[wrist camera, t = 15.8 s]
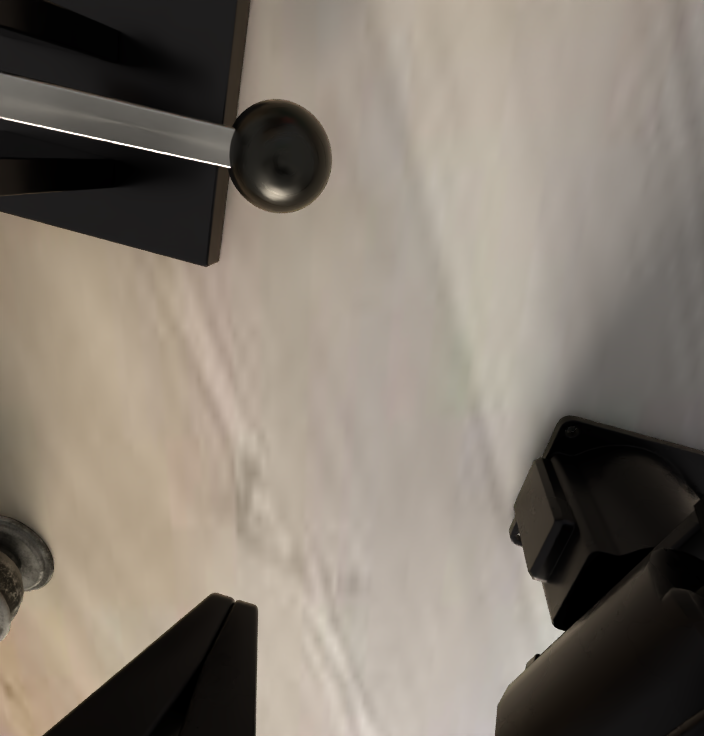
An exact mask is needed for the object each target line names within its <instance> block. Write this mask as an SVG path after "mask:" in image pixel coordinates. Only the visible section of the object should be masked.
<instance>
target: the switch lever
mask: <svg viewBox="0 0 704 736" xmlns="http://www.w3.org/2000/svg"><path fill="white" fill-rule="evenodd" d="M0 119H2V120H7V121H12V122H16V123H21V124H26V125H30V126H35V127H40V128H44V129H49V130H53V131H58V132H63V133H67V134H72V135H77V136H81V137H86V138H91V139H95V140H100V141H104V142H109V143H114V144H118V145H123V146H128V147H132V148H137V149H142V150H146V151H151V152H155V153H160V154H165V155H169V156H174V157H179V158H183V159H188V160H193V161H197V162H202V163H207V164H211V165H216V166H220V167H225V168H227V169H228V172H229V175H230V177H231V180H232V182H233V184H234V185H235V187H236V188H237V190H238V191H239V192H240V194H241V195H242V196H243V197H244V198H245V199H246V200H247V201H249V202H250V203H251V204H253V205H254V206H256V207H258V208H260V209H262V210H265V211H268V212H273V213H290V212H294V211H298V210H300V209H303V208H305V207H306V206H308V205H310V204H311V203H312V202H313V201H314V200H316V198H317V197H318V196H319V195H320V194H321V192H322V191H323V190H324V188H325V186H326V184H327V182H328V179H329V176H330V172H331V165H332V154H331V147H330V143H329V140H328V137H327V134H326V132H325V130H324V128H323V127H322V125H321V124H320V122H319V121H318V120H317V119H316V117H315V116H314V115H313V114H311V113H310V112H309V111H308V110H306V109H305V108H304V107H302V106H300V105H298V104H296V103H293V102H290V101H287V100H281V99H271V100H265V101H261V102H258V103H256V104H254V105H252V106H250V107H249V108H247V109H246V110H245V111H244V112H242V113H241V115H240V116H239V117H238V118H237V119H236V121H235V122H234V124H233V125H232V127H231V126H227V125H223V124H219V123H215V122H211V121H206V120H202V119H198V118H194V117H190V116H186V115H182V114H178V113H174V112H169V111H165V110H161V109H157V108H153V107H149V106H145V105H141V104H136V103H132V102H128V101H124V100H120V99H116V98H112V97H108V96H104V95H99V94H95V93H91V92H87V91H83V90H79V89H75V88H71V87H67V86H62V85H58V84H54V83H50V82H46V81H42V80H38V79H34V78H29V77H25V76H21V75H17V74H13V73H9V72H5V71H1V70H0Z"/></svg>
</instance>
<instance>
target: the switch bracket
mask: <svg viewBox="0 0 704 736" xmlns="http://www.w3.org/2000/svg"><path fill="white" fill-rule="evenodd" d="M249 8H250V0H0V70H1V71H5V72H9V73H13V74H17V75H21V76H25V77H29V78H34V79H38V80H42V81H46V82H50V83H54V84H58V85H62V86H67V87H71V88H75V89H79V90H83V91H87V92H91V93H95V94H99V95H104V96H108V97H112V98H116V99H120V100H124V101H128V102H132V103H136V104H141V105H145V106H149V107H153V108H157V109H161V110H165V111H169V112H174V113H178V114H182V115H186V116H190V117H194V118H198V119H202V120H206V121H211V122H215V123H219V124H223V125H227V126H231V127H232V125H233V124H234V122H235V121H236V115H237V107H238V99H239V91H240V82H241V74H242V66H243V58H244V50H245V41H246V33H247V25H248V17H249ZM228 181H229V172H228V169H227V168H225V167H220V166H216V165H211V164H207V163H202V162H197V161H193V160H188V159H183V158H179V157H174V156H169V155H165V154H160V153H155V152H151V151H146V150H142V149H137V148H132V147H128V146H123V145H118V144H114V143H109V142H104V141H100V140H95V139H91V138H86V137H81V136H77V135H72V134H67V133H63V132H58V131H53V130H49V129H44V128H40V127H35V126H30V125H26V124H21V123H16V122H12V121H7V120H2V119H0V212H4V213H8V214H11V215H15V216H19V217H23V218H26V219H30V220H34V221H37V222H41V223H45V224H49V225H52V226H56V227H60V228H63V229H67V230H71V231H74V232H78V233H82V234H86V235H89V236H93V237H97V238H100V239H104V240H108V241H112V242H115V243H119V244H123V245H126V246H130V247H134V248H138V249H141V250H145V251H149V252H152V253H156V254H160V255H163V256H167V257H171V258H175V259H178V260H182V261H186V262H189V263H193V264H197V265H201V266H204V267H208V266H210V265H212V264H214V263H217V262H218V261H219V255H220V247H221V239H222V231H223V222H224V214H225V206H226V198H227V189H228Z"/></svg>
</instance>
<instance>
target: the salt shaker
mask: <svg viewBox="0 0 704 736" xmlns="http://www.w3.org/2000/svg"><path fill="white" fill-rule="evenodd" d="M53 570H54V566H53V559H52V556H51V554H50V552H49V549H48V548H47V546H46V545H45V544H44V542H43V541H42V539H41V538H40V537H39V536H38V535H37V534H35V533H34V532H33V531H32V530H31V529H29V528H28V527H26V526H25V525H23V524H22V523H20V522H18V521H16V520H13V519H11V518H8V517H3V516H0V641H1V640H3V639H4V638H5V636H6V635H7V634H8V632H9V631H10V626H11V621H12V620H13V618H14V617H15V615H16V614H17V612H18V609H19V607H20V605H21V602H22V600H23V594H24V591H33V590H37V589H40V588H42V587H43V586H45V585H46V584H47V583H48V582H49V580H50V579H51V577H52V575H53Z"/></svg>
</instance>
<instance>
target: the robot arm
mask: <svg viewBox="0 0 704 736" xmlns="http://www.w3.org/2000/svg"><path fill="white" fill-rule="evenodd" d="M570 426H576V429H575V430H574V431H573V432H566V429H567V428H568V427H570ZM514 511H515V517H514V520H513V522H512V524H511V526H510V529H509V534H510V538H511V541H512V542H513V543H514V544H516V545H518V546H521V547H523V550H524V555H525V559H526V564H527V568H528V572H529V574H530V575H531V577H532V579H534V580H537V581H541V582H542V585H543V589H544V592H545V596H546V600H547V604H548V608H549V612H550V616H551V620H552V624H553V625H554V627H556V628H557V629H560V630H563V631H565V632H564V633H563V634H562V635H561V636H560V637H559V638H558V639H557V640H556V641H555V642H554V643H553V644H551V645H550V646H549V647H548V648H547V649H546V650H545V651H544V652H543V653H542V654H541V655H540V654H536V655H535V656H534V657H533V658H532V659H531V660H530V661H529V662H528V663H527V664H526V668H525V671H524V672H523V673H522V674H520V675H519V676H518V677H517V678H516V679H515V680H514V681H513V682H512V683H511V684H510V685H509V686H508V687H507V689H506V691H505V693H504V695H503V696H502V698H501V700H500V702H499V704H498V706H497V717H496V729H495V736H704V452H703V451H700V450H696V449H693V448H689V447H685V446H682V445H678V444H674V443H671V442H667V441H663V440H660V439H656V438H653V437H649V436H645V435H642V434H638V433H634V432H631V431H627V430H623V429H620V428H616V427H613V426H609V425H605V424H602V423H598V422H594V421H591V420H587V419H583V418H580V417H576V416H566V417H563V418H562V419H560V420H559V422H558V423H557V425H556V428H555V430H554V432H553V434H552V436H551V438H550V441H549V443H548V445H547V447H546V449H545V452H544V454H543V456H542V457H540V458H538V459H536V460H534V462H533V464H532V466H531V468H530V470H529V473H528V475H527V477H526V479H525V482H524V484H523V486H522V488H521V490H520V493H519V495H518V497H517V499H516V502H515V504H514ZM518 533H520V536H519V535H517V534H518ZM257 637H258V608H257V606H256V605H254V604H251V603H248V602H244V601H241V600H237V601H236V602H235V601H234V599H233V598H231V597H228V596H225V595H222V594H218V593H212V594H210V595H209V596H208V597H207V598H205V599H204V600H203V601H202V602H201V603H199V604H198V605H197V606H196V607H195V608H194V609H192V610H191V611H190V612H189V613H188V614H186V615H185V616H184V617H183V618H182V619H180V620H179V621H178V622H177V623H176V624H174V625H173V626H172V627H171V628H170V629H169V630H167V631H166V632H165V633H164V634H163V635H161V636H160V637H159V638H158V639H157V640H155V641H154V642H153V643H152V644H151V645H150V646H148V647H147V648H146V649H145V650H144V651H142V652H141V653H140V654H139V655H138V656H136V657H135V658H134V659H133V660H132V661H131V662H129V663H128V664H127V665H126V666H125V667H123V668H122V669H121V670H120V671H119V672H117V673H116V674H115V675H114V676H113V677H111V678H110V679H109V680H108V681H107V682H106V683H104V684H103V685H102V686H101V687H100V688H98V689H97V690H96V691H95V692H94V693H92V694H91V695H90V696H89V697H88V698H87V699H85V700H84V701H83V702H82V703H81V704H79V705H78V706H77V707H76V708H75V709H73V710H72V711H71V712H70V713H69V714H68V715H66V716H65V717H64V718H63V719H62V720H60V721H59V722H58V723H57V724H56V725H54V726H53V727H52V728H51V729H50V730H48V731H47V732H46V733H45V734H44V735H43V736H256V690H257Z"/></svg>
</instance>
